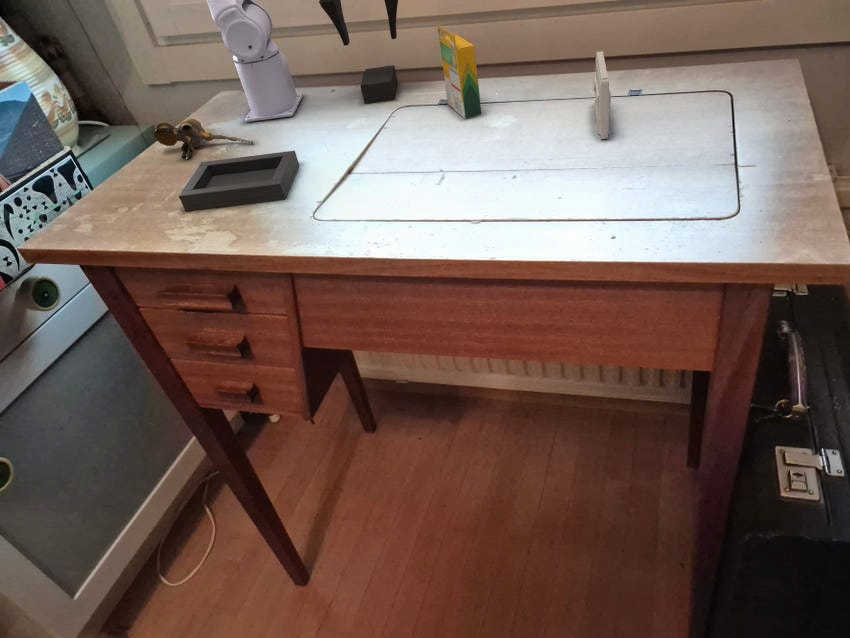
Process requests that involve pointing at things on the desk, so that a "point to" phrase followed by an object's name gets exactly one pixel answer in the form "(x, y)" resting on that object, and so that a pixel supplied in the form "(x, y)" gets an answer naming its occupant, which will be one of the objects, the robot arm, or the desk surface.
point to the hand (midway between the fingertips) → (370, 40)
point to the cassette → (601, 96)
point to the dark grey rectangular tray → (240, 181)
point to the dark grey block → (379, 84)
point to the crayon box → (460, 74)
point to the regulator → (187, 136)
